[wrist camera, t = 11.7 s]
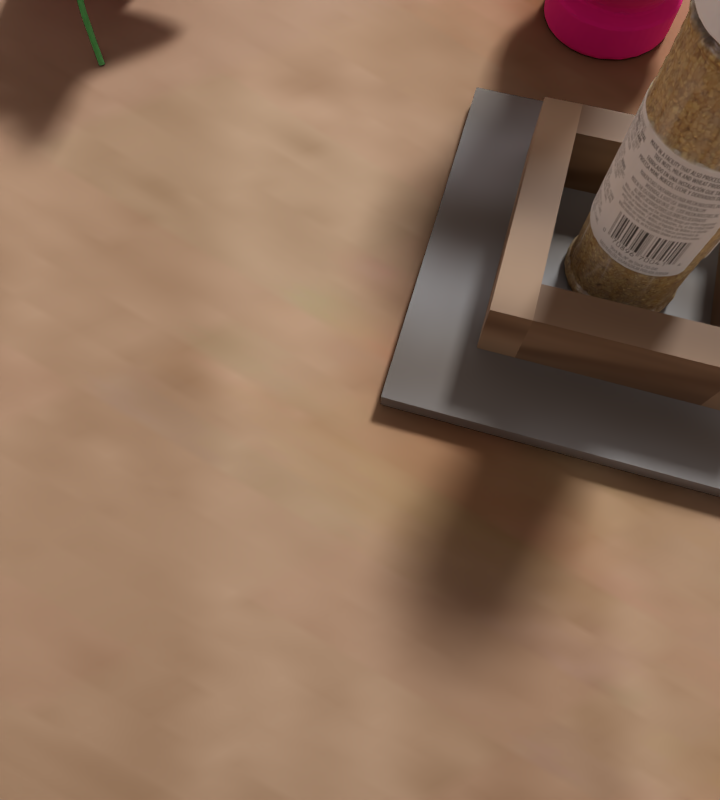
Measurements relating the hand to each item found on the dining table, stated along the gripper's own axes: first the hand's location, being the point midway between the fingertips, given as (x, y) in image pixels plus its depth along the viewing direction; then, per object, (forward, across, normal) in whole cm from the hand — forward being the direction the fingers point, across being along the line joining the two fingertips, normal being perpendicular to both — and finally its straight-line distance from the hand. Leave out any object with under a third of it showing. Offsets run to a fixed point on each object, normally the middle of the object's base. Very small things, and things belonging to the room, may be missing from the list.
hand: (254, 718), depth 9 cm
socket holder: (+22, -7, -3) cm, 24 cm away
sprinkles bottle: (+22, -7, -3) cm, 23 cm away
